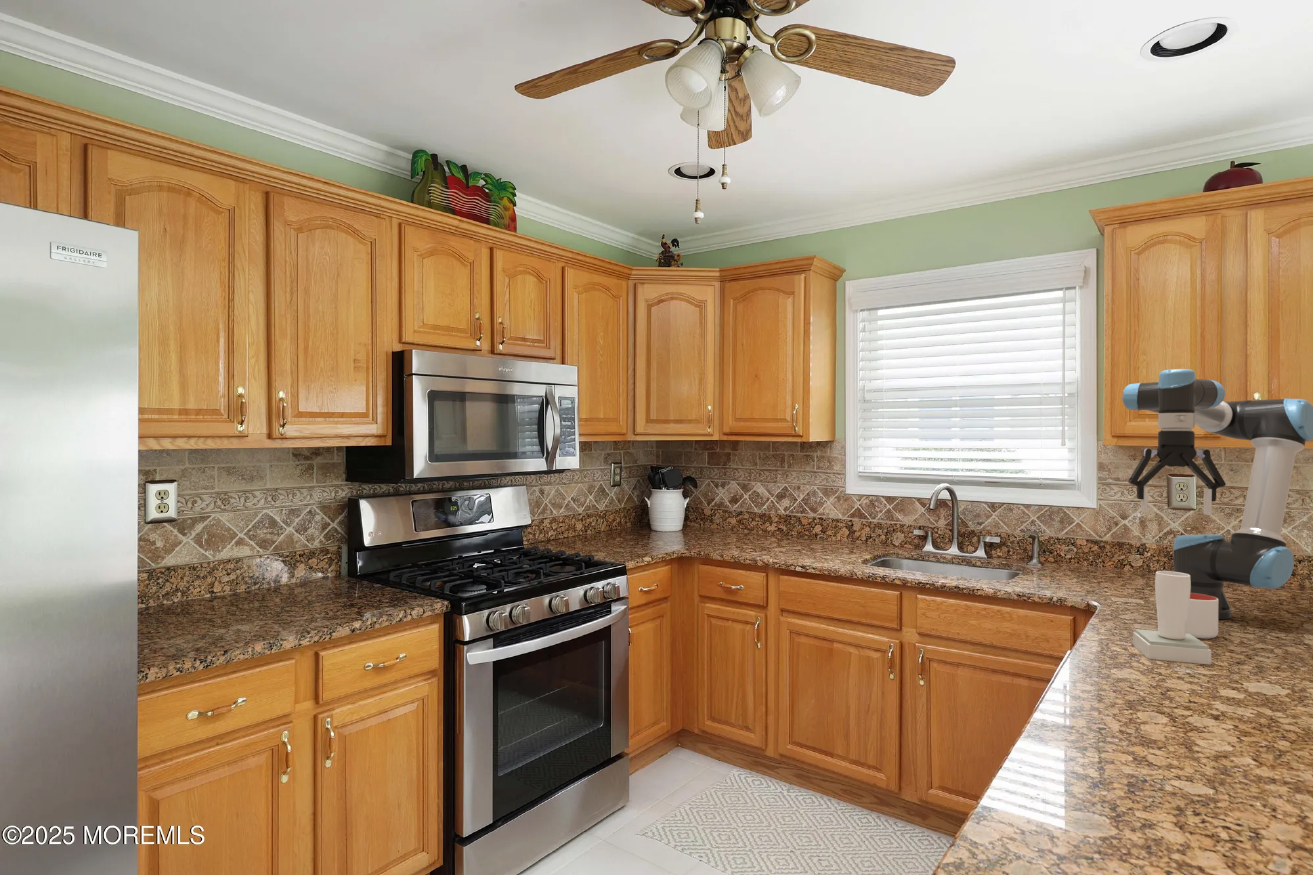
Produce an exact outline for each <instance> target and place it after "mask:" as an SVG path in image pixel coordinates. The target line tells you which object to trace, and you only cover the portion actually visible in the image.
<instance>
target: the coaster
mask: <svg viewBox="0 0 1313 875" xmlns="http://www.w3.org/2000/svg"><path fill="white" fill-rule="evenodd" d="M1132 646H1133V647H1134V648H1136V649H1137V650H1138V651H1139V652H1140V653H1141V654H1143V656H1145V657H1146V658H1147V659H1148V660H1158V661H1167V662H1178V663H1187V664H1199V665H1210V666H1211V665H1212V650H1211V648H1209V645H1208V644H1206V643H1204V642H1203V641H1201V639H1199V638H1195V637H1194V636H1192V635H1191V634H1188V633H1186V638H1185V639H1182V640H1174V639H1168V638H1164V637H1161V636H1160V635H1159V634H1158V630H1151V629H1138V628H1135V631H1132Z"/></svg>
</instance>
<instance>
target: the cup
mask: <svg viewBox="0 0 1313 875" xmlns="http://www.w3.org/2000/svg"><path fill="white" fill-rule="evenodd" d="M1186 633H1188V634H1191V635H1192V636H1194V637H1195V638H1197V639H1200V640H1201V639H1203V640H1204V639H1205V640H1207V639H1209V640H1210V639H1214V638H1216V637H1218V635H1219V619H1218V598H1216V597H1213V596H1209V595H1204V594H1197V593H1190V601H1189V609H1188V617H1187V625H1186Z"/></svg>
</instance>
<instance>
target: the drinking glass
mask: <svg viewBox="0 0 1313 875" xmlns="http://www.w3.org/2000/svg"><path fill="white" fill-rule="evenodd" d="M1154 577H1155V578H1154V592H1155V603H1156V604H1155V605H1156V616H1157V617H1156V618H1157V631H1158V634H1159V635H1160V636H1161V637H1164V638H1168V639H1174V640H1182V639H1185V638H1186V625H1187V617H1188V609H1189V601H1190V592H1191V579H1190V575H1189V574H1185V573H1180V572H1174V571H1173V570H1171V571H1170V570H1158V571H1156V572H1155V576H1154Z"/></svg>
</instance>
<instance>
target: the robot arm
mask: <svg viewBox="0 0 1313 875" xmlns="http://www.w3.org/2000/svg"><path fill="white" fill-rule="evenodd" d="M1225 396H1226V390H1225V388H1224V386H1223V385H1222V384H1221V383H1220V382H1218V381H1216V380H1212V379H1209V378H1206V379H1203V378H1202V379H1201V378H1196V373H1195V371H1194V370H1193V369H1187V368H1176V369H1173V368H1172V369H1165V370H1162V371H1160V372H1159V375H1158V381H1153V382H1137V383H1130V384H1127V386H1125V387H1124V389H1123V391H1122V398H1121V399H1122V403H1123V405H1124V407H1125V408H1126V409H1128V410H1130V411H1139V412H1140V411H1149V412H1153V413H1155V414H1158V416H1157V417H1158V420H1157V421H1158V422H1157V428H1158V429H1159V430H1160V431H1159V432H1158V433H1157V449H1151V448H1144V449H1143V451H1142V457H1141V458H1140V460H1139V461H1138V464H1137V466H1136V467H1135V469H1134V471H1133V472H1132V474H1131V476H1129V479H1128V484H1130V485H1133V486H1135V487H1136V498H1137V499H1138V500H1140V512H1141V513H1144V514H1148V512H1149V510H1148V509H1149V507H1148V506H1149V488H1148V487H1147V486H1146V485H1147V484H1148V483H1149V482H1150V481H1151V480H1152V479H1154V477H1155V476H1156V475H1157V474H1158V473H1159V472H1160V471H1161V470H1163V469H1164V468H1165V467H1171V468H1172V467H1178V468H1179V467H1180V468H1181V467H1183V468H1185V467H1187V468H1188V469H1189V470H1190V471H1191V472H1192V473H1194V475H1195V476H1196V477H1197V478H1198V479H1199V480H1200V481H1201V482H1202V483H1203V484H1204V485H1205V486H1206V487H1207V488H1203V515H1206V516H1212V514H1213V513H1212V511H1213V510H1212V508H1213V506H1212V503H1213V502H1216V501H1217V489H1218V488H1221V487H1226V485H1227V484H1226V482H1225V480H1224V478H1223V476H1222V475H1221V473H1220V472H1219V470H1218V468H1217V466H1216V465H1215V462H1214V461H1213V460H1212V457H1211V450H1210V449H1206V448H1204V449H1203V448H1202V449H1201V450H1196V448H1195V444H1196V443H1195V442H1196V441H1195V439H1196V438H1195V434H1196V433H1195V431H1194V430H1193V429H1195V425H1197V427H1198V428H1199V429H1201V430H1202V431H1205V432H1209V433H1212V434H1215V435H1219V436H1223V437H1226V438H1230V439H1236V440H1244V441H1250V445H1251V446H1252V447H1254V448H1255V451H1254V455H1253V461H1252V468H1251V472H1250V477H1249V478H1250V479H1249V483H1248V486H1247V487H1248V488H1247V493H1246V498H1245V503H1244V509H1243V514H1242V519H1241V525H1240V528H1239V529H1238V530H1236V531H1234V532H1232V534H1231V537H1230V538H1231V539H1230V540H1226V539H1225V537H1224V535H1223V534H1211V533H1209V534H1206V533H1205V534H1203V533H1202V534H1182V535H1178V536H1175V538H1174V543H1173V549H1172V552H1173V572H1180V573H1185V574H1189V575H1190V579H1191V592H1190V593H1197V594H1204V595H1209V596H1213V597H1216V598H1218V620H1228V619H1231V618H1232V608H1231V606H1230V603H1229V600H1228V598H1227V595H1226V593H1225V590H1224V583H1231V584H1237V585H1243V586H1248V587H1253V588H1255V589H1256V588H1257V589H1262V588H1263V589H1270V590H1275V589H1279V588H1280V587H1282V586H1283V585H1285V584H1286V583H1287V582H1288V581H1289V579H1290V578H1291V576H1292V573H1293V570H1294V568H1295V560H1294V558H1295V556H1294V553H1293V552H1292V550H1291V549H1290V548H1288V547H1287V541H1286V540H1285V539H1284V538H1283V537H1282V535H1281V534H1282V531H1283V530H1282V529H1283V524H1284V519H1285V518H1284V517H1285V512H1286V508H1287V502H1288V496H1289V491H1290V486H1291V481H1292V476H1293V470H1294V465H1295V461H1296V459H1295V458H1296V454H1298V453H1299V452H1301V451H1303V450H1304V449H1305V445H1306V442H1311V441H1313V404H1311V402H1310V401H1308V400H1306V399H1303V398H1289V397H1286V398H1276V399H1252V400H1249V399H1248V400H1233V401H1232V400H1231V401H1224V400H1225ZM1192 430H1193V431H1192ZM1155 455H1156V457H1157V458H1158V459H1159V460H1157V462H1156V463H1155V464H1154V465H1153V466H1152V467H1151V468H1150V469H1148V471H1147V472H1146V473H1145V474H1144V475H1143V476H1142V474H1143V472H1144V470H1145V469H1146V467H1147V466H1148V464H1149V463H1150V460H1151V458H1154V456H1155ZM1196 456H1198V458H1199V459H1201V461H1202V463H1203V465H1204V466H1205V467H1206V470H1207V472H1208V473H1209V474H1210V476H1211V478H1212V479H1211V478H1210V477H1209V476H1208V475H1207V474H1206V473H1205V472H1204V471H1203V470H1202V469H1201V467H1199V465H1198V464H1197V463H1196V462H1195V461H1194V459H1195V457H1196ZM1141 476H1142V477H1141Z"/></svg>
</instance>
